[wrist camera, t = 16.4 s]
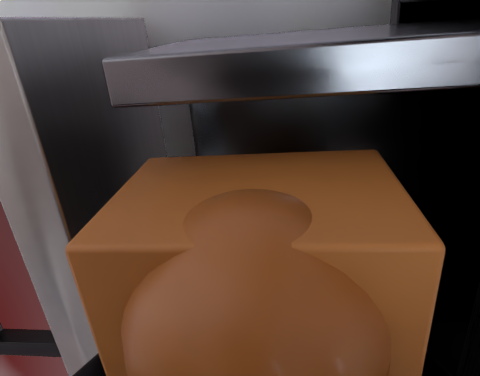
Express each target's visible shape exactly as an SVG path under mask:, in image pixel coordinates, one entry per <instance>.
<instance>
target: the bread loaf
mask: <svg viewBox="0 0 480 376" xmlns="http://www.w3.org/2000/svg"><path fill="white" fill-rule="evenodd" d="M65 254H66V257H67V260H68V263H69V266H70V269H71V272H72V275H73V278H74V281H75V284H76V287H77V290H78V293H79V296H80V299H81V302H82V305H83V308H84V311H85V314H86V317H87V320H88V323H89V326H90V329H91V332H92V335H93V338H94V341H95V344H96V347H97V350H98V353H99V356H100V359H101V362H102V365H103V368H104V371H105V374H106V376H422V371H423V366H424V360H425V355H426V350H427V345H428V339H429V334H430V329H431V324H432V318H433V313H434V308H435V303H436V297H437V292H438V287H439V282H440V276H441V271H442V266H443V261H444V255H445V246H444V243H443V242H442V240H441V239H440V238H439V236H438V235H437V233H436V232H435V231H434V229H433V228H432V226H431V225H430V224H429V222H428V221H427V219H426V218H425V217H424V215H423V214H422V212H421V211H420V210H419V208H418V207H417V205H416V204H415V203H414V201H413V200H412V198H411V197H410V196H409V194H408V193H407V191H406V190H405V189H404V187H403V186H402V184H401V183H400V182H399V180H398V179H397V177H396V176H395V175H394V173H393V172H392V171H391V169H390V168H389V166H388V165H387V164H386V162H385V161H384V159H383V158H382V157H381V155H380V154H379V152H378V151H377V150H374V149H373V150H346V151H319V152H293V153H266V154H239V155H212V156H185V157H158V158H150V159H148V160H147V161H146V162H145V163H144V164H143V165H142V167H141V168H140V169H139V170H138V171H137V172H136V173H135V174H134V175H133V176H132V177H131V178H130V179H129V180H128V181H127V182H126V183H125V184H124V185H123V186H122V188H121V189H120V190H119V191H118V192H117V193H116V194H115V195H114V196H113V197H112V198H111V199H110V200H109V201H108V202H107V203H106V204H105V205H104V206H103V207H102V208H101V210H100V211H99V212H98V213H97V214H96V215H95V216H94V217H93V218H92V219H91V220H90V221H89V222H88V223H87V224H86V225H85V226H84V227H83V228H82V229H81V231H80V232H79V233H78V234H77V235H76V236H75V237H74V238H73V239H72V240H71V241H70V242H69V243H68V244H67V245H66V248H65Z"/></svg>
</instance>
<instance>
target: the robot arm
mask: <svg viewBox="0 0 480 376" xmlns="http://www.w3.org/2000/svg"><path fill="white" fill-rule="evenodd" d="M72 376H106V374H105V371H104V368H103V365H102V362H101V359H100V356H99V353H97V354H96V355H95V356H94V357H93V358H92V359H91V360H89V361H88V362H87V363H86V364H85V365H84V366H83V367H82V368H80V369H79V370H78V371H77V372H76V373H75V374H74V375H72ZM422 376H452V375H451V374H450V373H449V372H448V371H447V370H446V369H445V368H444V367H443V366H442V365H441V364H440V363H439V362H438V361H437V360H436V359H435V358H434V357H433V356H432V355H431V354H430V353H429V352H428V351H427V350H426V355H425V360H424V366H423V371H422Z"/></svg>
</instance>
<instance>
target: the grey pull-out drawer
mask: <svg viewBox="0 0 480 376" xmlns="http://www.w3.org/2000/svg"><path fill="white" fill-rule="evenodd" d="M181 104H189V107H190V115H191V122H192V130H193V137H194V145H195V152H196V156H212V155H239V154H266V153H293V152H319V151H346V150H373V149H374V150H377V151H378V152H379V154H380V155H381V157H382V158H383V159H384V161H385V162H386V164H387V165H388V166H389V168H390V169H391V171H392V172H393V173H394V175H395V176H396V177H397V179H398V180H399V182H400V183H401V184H402V186H403V187H404V189H405V190H406V191H407V193H408V194H409V196H410V197H411V198H412V200H413V201H414V203H415V204H416V205H417V207H418V208H419V210H420V211H421V212H422V214H423V215H424V217H425V218H426V219H427V221H428V222H429V224H430V225H431V226H432V228H433V229H434V231H435V232H436V233H437V235H438V236H439V238H440V239H441V240H442V242H443V243H444V246H445V255H444V261H443V266H442V271H441V276H440V282H439V287H438V292H437V297H436V303H435V308H434V313H433V318H432V324H431V329H430V334H429V339H428V345H427V351H428V352H429V353H430V354H431V355H432V356H433V357H434V358H435V359H436V360H437V361H438V362H439V363H440V364H441V365H442V366H443V367H444V368H445V369H446V370H447V371H448V372H449V373H450V374H451V375H452V376H457V372H458V368H459V364H460V360H461V356H462V352H463V348H464V344H465V340H466V336H467V332H468V328H469V324H470V320H471V316H472V312H473V308H474V304H475V300H476V296H477V292H478V288H479V284H480V17H471V18H458V19H445V20H433V21H420V22H407V23H394V24H381V25H368V26H356V27H343V28H330V29H317V30H304V31H292V32H279V33H266V34H253V35H240V36H227V37H215V38H202V39H189V40H184V41H180V42H175V43H170V44H166V45H161V46H157V47H152V48H149V45H148V39H147V33H146V27H145V21H144V18H83V17H0V201H1V204H2V206H3V209H4V211H5V214H6V217H7V219H8V221H9V224H10V227H11V229H12V232H13V234H14V237H15V240H16V242H17V244H18V247H19V250H20V252H21V255H22V257H23V260H24V262H25V265H26V267H27V270H28V273H29V275H30V278H31V280H32V283H33V285H34V288H35V291H36V293H37V296H38V298H39V301H40V303H41V306H42V308H43V311H44V313H45V316H46V319H47V321H48V324H49V326H50V329H51V330H27V329H3V327H2V325H1V323H0V355H22V356H48V357H62V359H63V362H64V365H65V367H66V370H67V372H68V375H69V376H72V375H74V374H75V373H76V372H77V371H78V370H79V369H80V368H82V367H83V366H84V365H85V364H86V363H87V362H88V361H89V360H91V359H92V358H93V357H94V356H95V355H96V354H97V353H98V350H97V347H96V344H95V341H94V338H93V335H92V332H91V329H90V326H89V323H88V320H87V317H86V314H85V311H84V308H83V305H82V302H81V299H80V296H79V293H78V290H77V287H76V284H75V281H74V278H73V275H72V272H71V269H70V266H69V263H68V260H67V257H66V254H65V248H66V245H67V244H68V243H69V242H70V241H71V240H72V239H73V238H74V237H75V236H76V235H77V234H78V233H79V232H80V231H81V229H82V228H83V227H84V226H85V225H86V224H87V223H88V222H89V221H90V220H91V219H92V218H93V217H94V216H95V215H96V214H97V213H98V212H99V211H100V210H101V208H102V207H103V206H104V205H105V204H106V203H107V202H108V201H109V200H110V199H111V198H112V197H113V196H114V195H115V194H116V193H117V192H118V191H119V190H120V189H121V188H122V186H123V185H124V184H125V183H126V182H127V181H128V180H129V179H130V178H131V177H132V176H133V175H134V174H135V173H136V172H137V171H138V170H139V169H140V168H141V167H142V165H143V164H144V163H145V162H146V161H147V160H148V159H150V158H158V157H167V152H166V146H165V140H164V134H163V128H162V122H161V116H160V111H159V106H163V105H181Z"/></svg>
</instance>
